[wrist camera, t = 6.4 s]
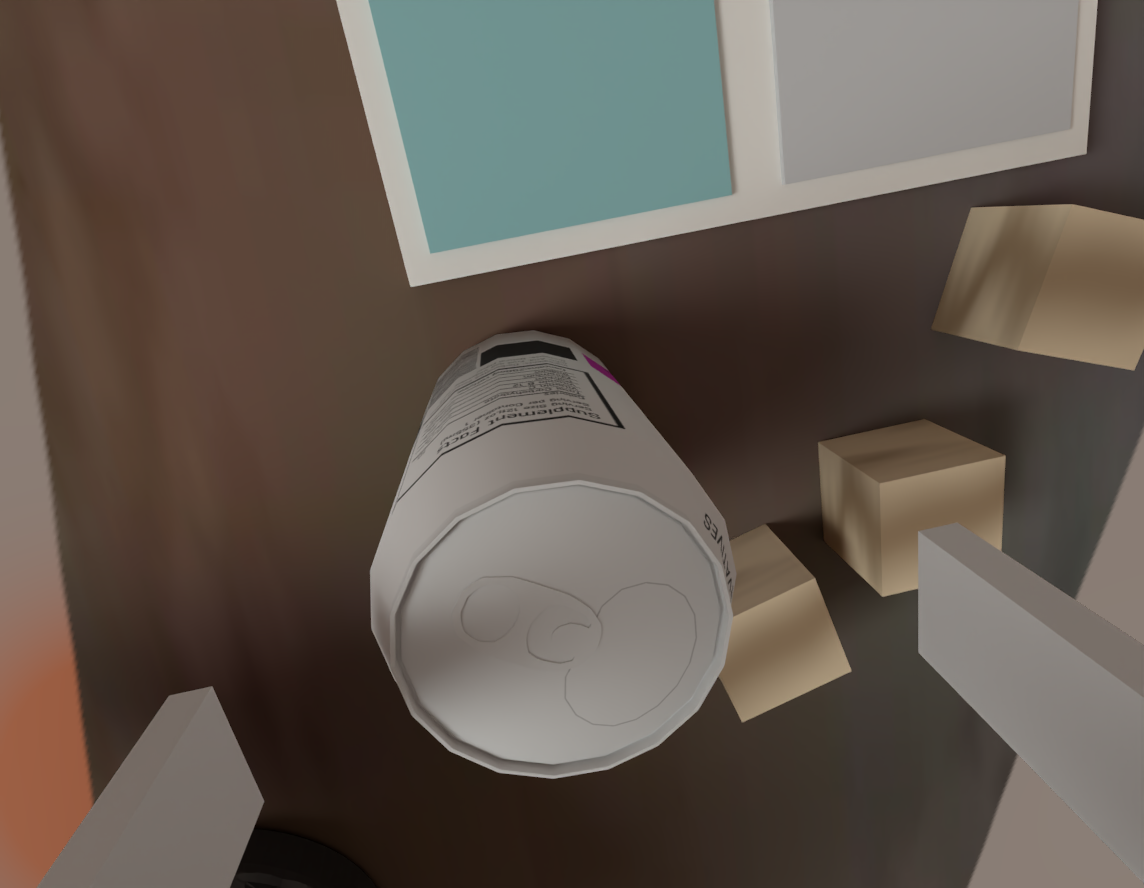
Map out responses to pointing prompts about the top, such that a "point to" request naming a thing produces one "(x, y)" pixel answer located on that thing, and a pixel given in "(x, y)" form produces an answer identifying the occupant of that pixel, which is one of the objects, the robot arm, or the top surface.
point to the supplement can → (549, 567)
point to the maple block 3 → (1049, 283)
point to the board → (694, 112)
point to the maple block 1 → (776, 628)
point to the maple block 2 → (905, 496)
